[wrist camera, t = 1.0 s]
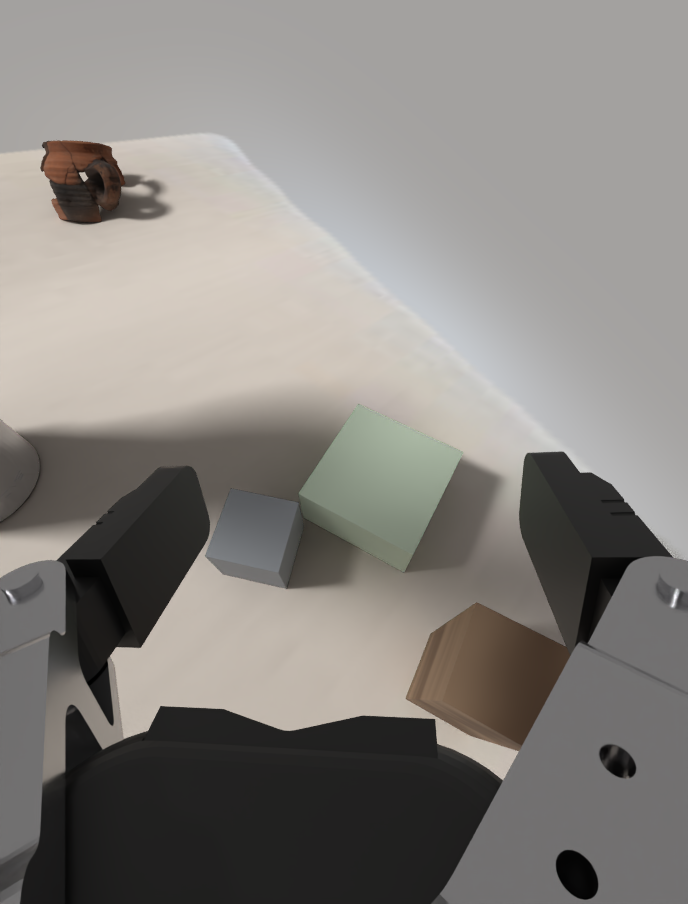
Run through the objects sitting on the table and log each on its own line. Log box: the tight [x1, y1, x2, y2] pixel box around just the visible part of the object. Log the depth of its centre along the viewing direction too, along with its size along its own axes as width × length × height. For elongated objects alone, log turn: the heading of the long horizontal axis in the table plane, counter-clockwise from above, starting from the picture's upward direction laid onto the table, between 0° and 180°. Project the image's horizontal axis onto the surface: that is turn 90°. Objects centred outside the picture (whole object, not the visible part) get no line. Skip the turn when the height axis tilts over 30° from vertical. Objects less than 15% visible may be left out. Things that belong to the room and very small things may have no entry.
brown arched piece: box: [41, 141, 125, 222], centre depth 54 cm, size 12×10×8 cm
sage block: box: [298, 404, 463, 572], centre depth 34 cm, size 9×9×5 cm
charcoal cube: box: [205, 488, 304, 589], centre depth 32 cm, size 5×5×5 cm
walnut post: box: [406, 602, 570, 751], centre depth 24 cm, size 4×4×12 cm
